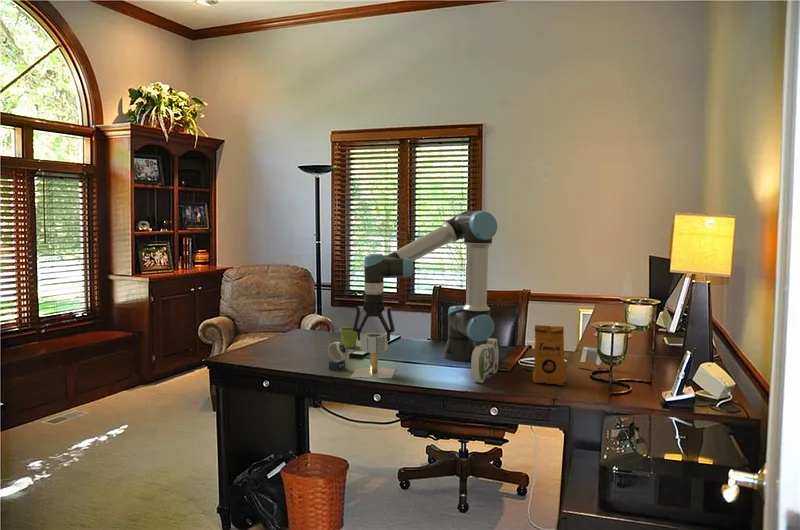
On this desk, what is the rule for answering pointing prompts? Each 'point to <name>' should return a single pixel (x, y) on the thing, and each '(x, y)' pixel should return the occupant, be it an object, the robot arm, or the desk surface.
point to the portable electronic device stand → (590, 355)
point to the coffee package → (549, 355)
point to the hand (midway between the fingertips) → (373, 349)
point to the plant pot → (349, 336)
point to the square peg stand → (374, 370)
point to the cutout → (484, 360)
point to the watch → (336, 364)
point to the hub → (373, 342)
